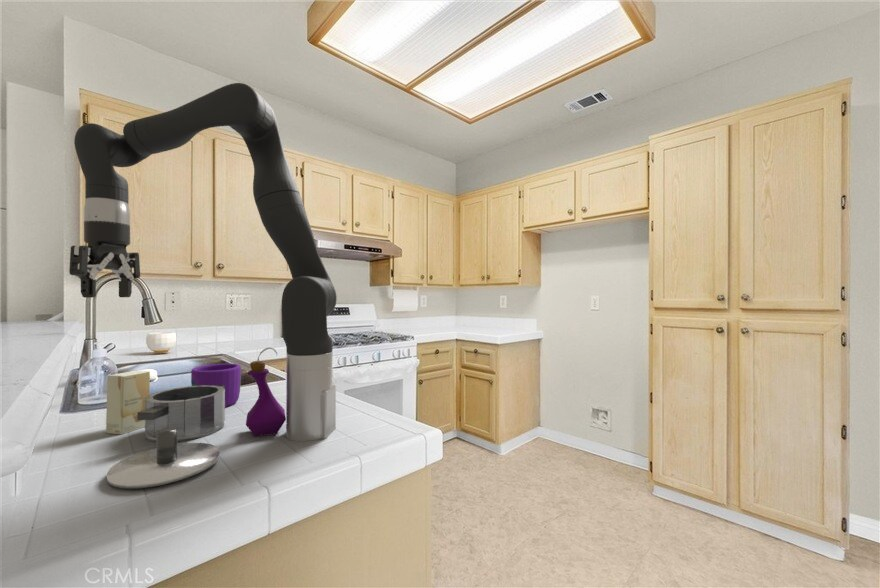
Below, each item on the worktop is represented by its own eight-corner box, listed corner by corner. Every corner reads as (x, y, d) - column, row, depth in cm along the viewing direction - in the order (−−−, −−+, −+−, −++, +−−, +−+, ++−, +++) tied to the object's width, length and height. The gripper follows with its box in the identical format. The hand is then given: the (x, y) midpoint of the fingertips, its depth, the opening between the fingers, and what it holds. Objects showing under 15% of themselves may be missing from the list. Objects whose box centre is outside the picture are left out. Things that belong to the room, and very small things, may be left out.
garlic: (157, 381, 128) (157, 370, 128) (131, 384, 124) (131, 372, 124) (158, 377, 134) (158, 366, 134) (134, 379, 130) (134, 368, 130)
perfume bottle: (245, 440, 76) (245, 350, 76) (247, 428, 82) (247, 346, 82) (286, 435, 79) (286, 348, 79) (284, 423, 86) (284, 344, 86)
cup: (139, 353, 187) (139, 333, 187) (161, 349, 199) (161, 331, 199) (161, 354, 185) (161, 334, 185) (182, 350, 197) (182, 331, 197)
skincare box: (121, 435, 78) (121, 376, 78) (104, 434, 79) (104, 375, 79) (151, 425, 85) (151, 370, 85) (135, 423, 86) (135, 369, 86)
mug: (246, 404, 101) (246, 367, 101) (196, 414, 93) (196, 373, 93) (227, 392, 113) (227, 359, 113) (182, 399, 105) (182, 363, 105)
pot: (246, 414, 92) (246, 381, 92) (181, 451, 70) (181, 408, 70) (190, 413, 93) (190, 381, 93) (109, 450, 71) (109, 407, 71)
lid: (237, 453, 70) (237, 416, 70) (177, 496, 55) (177, 450, 55) (159, 451, 71) (159, 415, 71) (78, 493, 56) (79, 447, 56)
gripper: (93, 215, 75) (93, 297, 75) (150, 228, 89) (150, 297, 89) (56, 215, 75) (56, 297, 75) (119, 228, 89) (119, 297, 89)
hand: (107, 297), depth 82 cm, fingers open, 8 cm apart
